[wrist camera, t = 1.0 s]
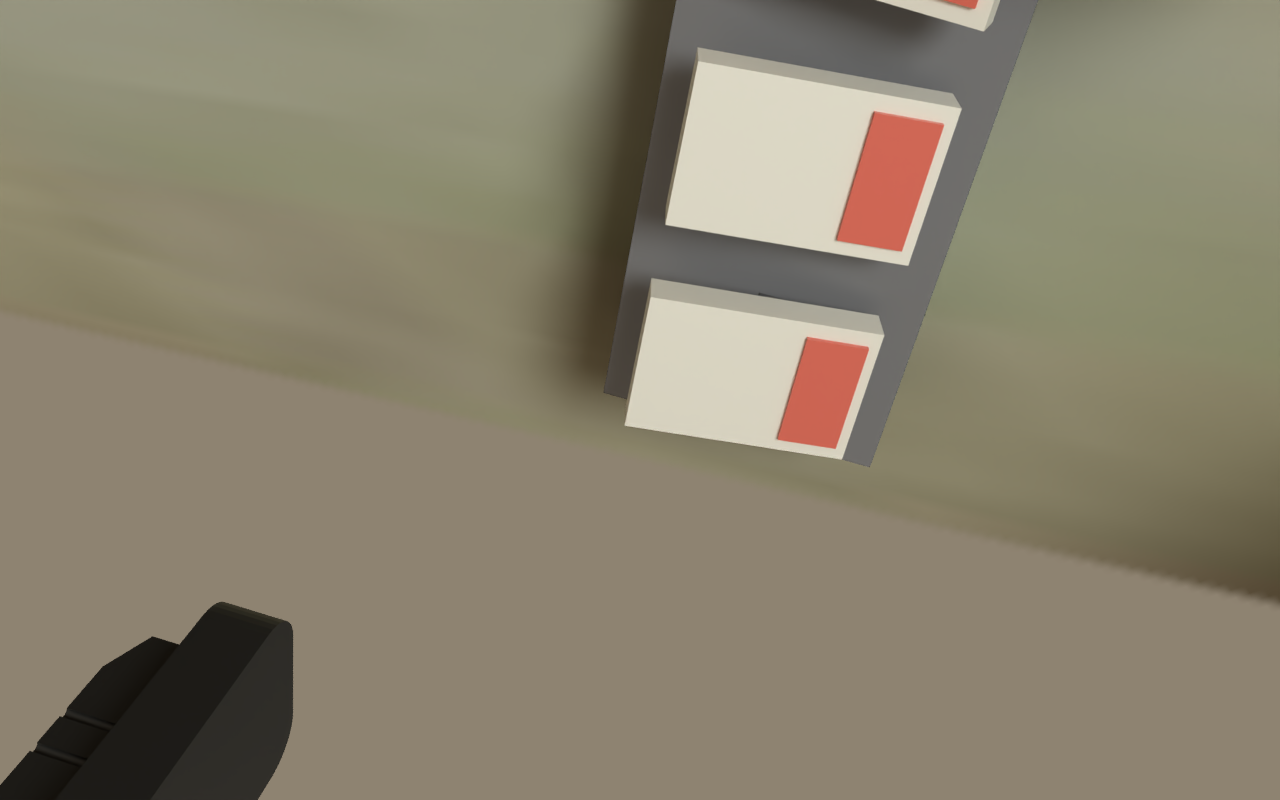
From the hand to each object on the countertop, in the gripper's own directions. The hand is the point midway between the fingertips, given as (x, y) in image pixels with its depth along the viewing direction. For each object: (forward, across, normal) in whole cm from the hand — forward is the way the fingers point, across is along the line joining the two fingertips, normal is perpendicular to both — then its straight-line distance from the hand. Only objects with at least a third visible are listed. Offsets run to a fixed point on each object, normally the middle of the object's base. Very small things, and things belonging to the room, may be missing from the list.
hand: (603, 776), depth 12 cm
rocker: (+18, 0, +6) cm, 19 cm away
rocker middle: (+18, 0, 0) cm, 18 cm away
